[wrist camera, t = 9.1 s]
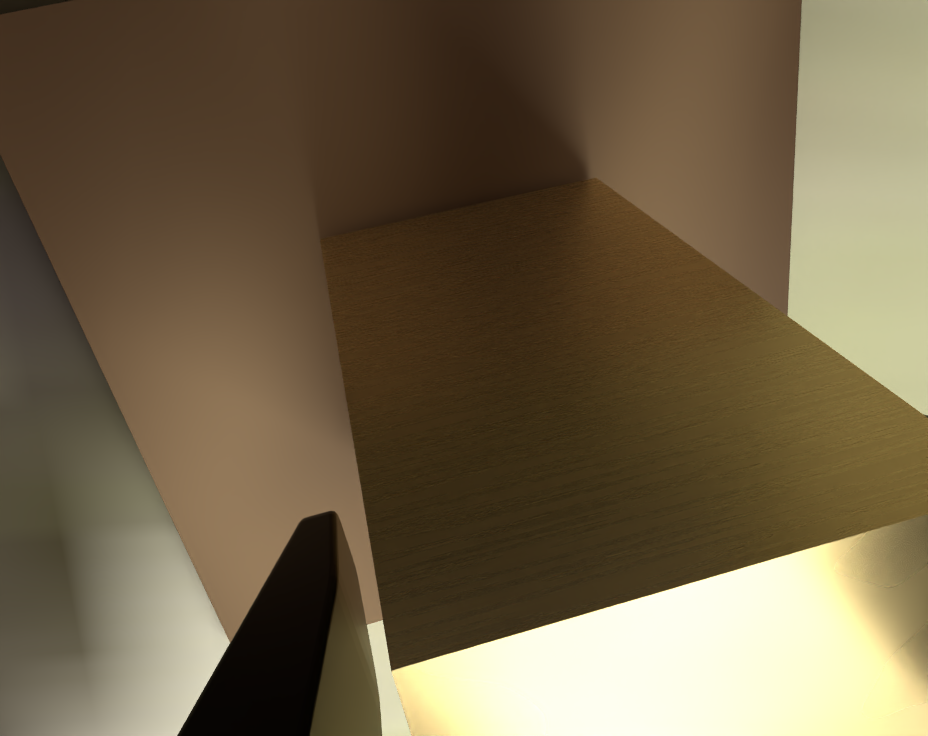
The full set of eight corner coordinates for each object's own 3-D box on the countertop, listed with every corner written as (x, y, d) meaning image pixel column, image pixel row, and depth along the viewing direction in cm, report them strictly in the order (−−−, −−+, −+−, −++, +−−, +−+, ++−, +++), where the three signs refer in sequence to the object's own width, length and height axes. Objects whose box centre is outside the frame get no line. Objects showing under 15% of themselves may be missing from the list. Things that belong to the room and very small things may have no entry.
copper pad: (787, -137, 11) (807, -142, 11) (765, 489, 17) (779, 503, 16) (-46, 23, 10) (-60, 25, 9) (240, 643, 16) (239, 662, 15)
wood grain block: (596, 177, 12) (1022, 485, 5) (608, 406, 14) (913, 825, 8) (319, 239, 11) (390, 671, 5) (379, 465, 14) (485, 972, 7)
